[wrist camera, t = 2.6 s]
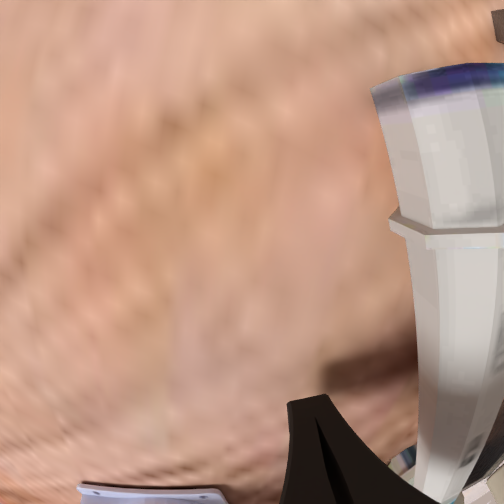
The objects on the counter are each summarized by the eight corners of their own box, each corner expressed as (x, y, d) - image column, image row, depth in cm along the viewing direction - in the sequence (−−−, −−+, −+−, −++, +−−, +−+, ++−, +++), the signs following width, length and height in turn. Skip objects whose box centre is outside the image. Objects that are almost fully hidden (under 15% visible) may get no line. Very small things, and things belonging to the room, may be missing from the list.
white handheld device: (556, 64, 4) (472, 526, 11) (426, 90, 10) (439, 466, 17) (400, 63, 4) (403, 561, 11) (306, 112, 10) (377, 494, 18)
